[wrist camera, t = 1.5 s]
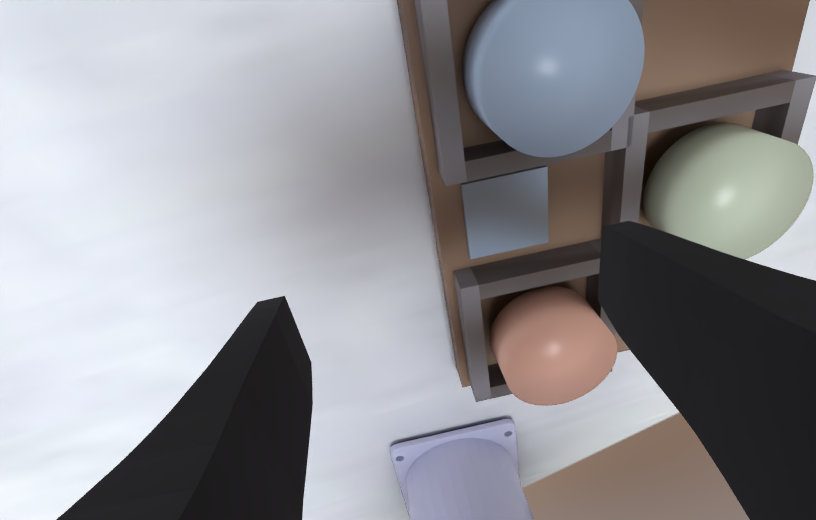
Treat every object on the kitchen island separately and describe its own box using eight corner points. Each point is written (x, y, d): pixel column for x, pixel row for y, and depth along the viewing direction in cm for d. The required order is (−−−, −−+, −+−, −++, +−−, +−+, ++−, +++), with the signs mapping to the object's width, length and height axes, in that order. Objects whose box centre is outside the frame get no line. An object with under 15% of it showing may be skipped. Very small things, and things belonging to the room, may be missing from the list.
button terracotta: (589, 356, 23) (613, 391, 21) (493, 378, 23) (509, 415, 21) (593, 275, 21) (621, 307, 19) (485, 299, 21) (502, 334, 18)
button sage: (746, 223, 20) (792, 249, 18) (638, 247, 20) (671, 276, 18) (774, 110, 18) (831, 125, 16) (649, 136, 18) (690, 156, 16)
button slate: (600, 121, 17) (636, 139, 15) (470, 149, 17) (488, 171, 15) (608, -36, 14) (653, -41, 12) (454, -5, 14) (473, -4, 12)
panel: (708, 311, 26) (747, 345, 24) (456, 367, 26) (469, 408, 24) (804, -130, 16) (893, -153, 14) (389, -46, 16) (399, -53, 13)
